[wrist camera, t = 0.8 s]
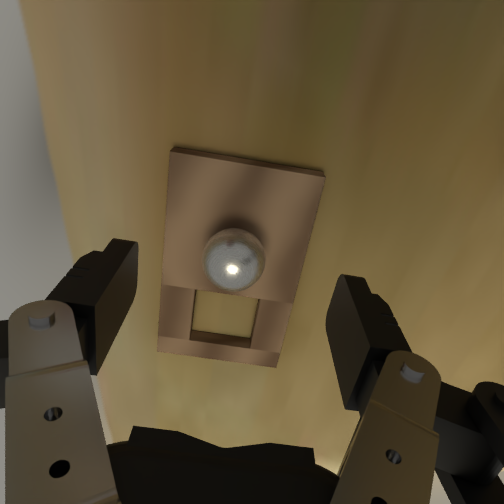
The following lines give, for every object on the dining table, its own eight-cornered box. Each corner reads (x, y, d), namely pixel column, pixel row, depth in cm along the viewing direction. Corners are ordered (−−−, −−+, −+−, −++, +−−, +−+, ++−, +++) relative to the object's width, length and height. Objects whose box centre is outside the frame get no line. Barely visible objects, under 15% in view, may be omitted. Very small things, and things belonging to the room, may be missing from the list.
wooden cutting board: (323, 171, 31) (325, 177, 30) (275, 357, 41) (276, 367, 39) (173, 146, 31) (169, 151, 29) (160, 341, 40) (157, 351, 39)
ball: (270, 223, 32) (271, 251, 27) (259, 274, 34) (259, 308, 30) (209, 213, 32) (201, 240, 27) (203, 266, 34) (194, 299, 29)
